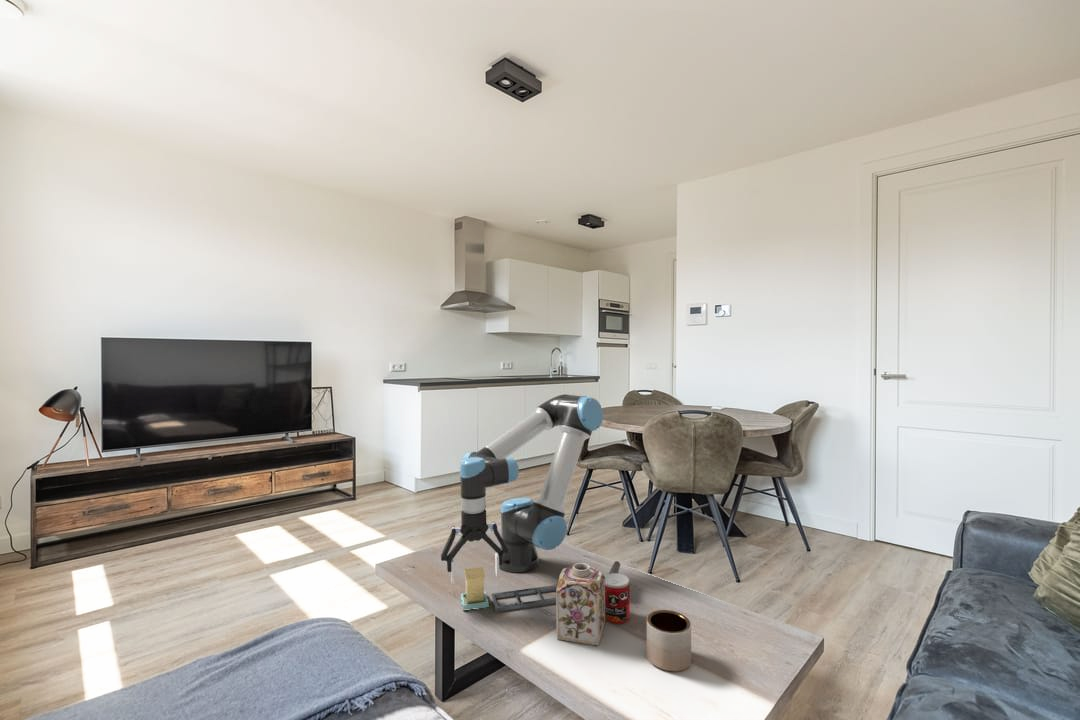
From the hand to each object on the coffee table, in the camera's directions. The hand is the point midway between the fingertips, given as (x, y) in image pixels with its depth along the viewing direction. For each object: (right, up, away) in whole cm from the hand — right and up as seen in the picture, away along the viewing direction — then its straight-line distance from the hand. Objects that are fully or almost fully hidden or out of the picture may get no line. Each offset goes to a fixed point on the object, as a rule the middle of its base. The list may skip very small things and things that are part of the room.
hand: (475, 578), depth 148 cm
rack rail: (+16, -7, +2) cm, 18 cm away
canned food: (+42, -8, -8) cm, 43 cm away
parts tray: (0, -7, 0) cm, 7 cm away
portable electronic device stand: (+42, -7, +6) cm, 43 cm away
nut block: (0, -7, 0) cm, 7 cm away
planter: (+52, -8, -27) cm, 59 cm away
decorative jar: (+31, -8, -15) cm, 35 cm away
